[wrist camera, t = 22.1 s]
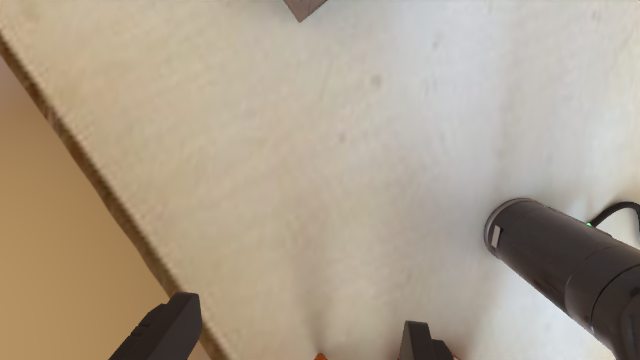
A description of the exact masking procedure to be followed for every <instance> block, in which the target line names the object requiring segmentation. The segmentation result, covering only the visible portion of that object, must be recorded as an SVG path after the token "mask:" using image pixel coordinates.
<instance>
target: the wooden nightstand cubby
mask: <svg viewBox="0 0 640 360" xmlns="http://www.w3.org/2000/svg"><path fill="white" fill-rule="evenodd" d="M326 1H327V0H284V2H285V3H286V4H287V6H288V7H289V9H290V10H291V12H292V13H293V14H294V16H295V17H296V19H297V20H298V22H299V23H300V22H302V21H303V20H304V19H305V18H307V17H308V16H309V15H310V14H311V13H313V12H314V11H315V10H316V9H318V8H319V7H320V6H321V5H322V4H324V3H325V2H326Z"/></svg>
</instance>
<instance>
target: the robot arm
mask: <svg viewBox="0 0 640 360" xmlns="http://www.w3.org/2000/svg"><path fill="white" fill-rule="evenodd" d="M623 208H633V209H634V210H636V212H637V215H638V219H639V230H640V205H639V204H637V203H634V202H621V203H618V204H615V205H613V206H611V207H609V208H608V209H606V210H605V211H603V212H602V213H601V214H600V215H599V216H597V217H596V218H595V219H594V220H593V221H592V222H590V223H589V224H586V223H584V222H582V221H579V220H577V219H575V218H573V217H571V216H568V215H566V214H564V213H562V212H560V211H557V210H555V209H553V208H551V207H545V206H543V205H542V204H540V203H538V202H536V201H534V200H531V199H525V198H520V199H514V200H511V201H508V202H506V203H504V204H502V205H501V206H500V207H498V208H497V209H496V210H495V211H494V212H493V213H492V214H491V216H490V217H489V219H488V221H487V223H486V226H485V230H484V240H485V244H486V246H487V248H488V250H489V251H490V252H491V253H492V254H493V255H494V256H496V257H497V258H498V259H500V260H501V261H503V262H504V263H505V264H506V265H508V266H509V267H510V268H511V269H512V270H513V271H515V272H516V273H517V274H518V275H519V276H521V277H522V278H523V279H524V280H526V281H527V282H528V283H529V284H530V285H532V286H533V287H534V288H535V289H537V290H538V291H539V292H540V293H541V294H543V295H544V296H545V297H546V298H547V299H549V300H550V301H551V302H552V303H554V304H555V305H556V306H557V307H558V308H560V309H561V310H562V311H563V312H565V313H566V314H567V315H568V316H569V317H571V318H572V319H573V320H574V321H576V322H577V323H578V324H579V325H581V326H582V327H583V328H584V329H585V330H587V331H588V332H589V333H590V334H591V335H593V336H594V337H595V338H596V339H598V340H599V341H600V342H601V343H602V344H603V345H605V346H606V347H607V348H608V349H609V350H610V351H611V352H612V353H613V355H614V356H615V358H616V360H640V250H639V249H636V248H634V247H632V246H630V245H627V244H625V243H623V242H621V241H619V240H617V239H614V238H612V236H611V235H610V234H608V233H606V232H604V231H601V230H599V229H597V228H595V227H596V226H597V225H599V224H600V223H601V222H602V221H603V220H604V219H606V218H607V217H608V216H609V215H611V214H612V213H614V212H616V211H618V210H620V209H623ZM201 331H202V317H201V308H200V300H199V295H198V294H196V293H188V292H180V291H178V292H176V293H175V294H174V295H173V297H172V298H171V299H170V300H169V302H168V303H167V304H160V305H159V306H157V307H156V308H154V309H153V310H151V311H150V312H148V314H147V315H146V316H145V317H144V318H143V319H142V321H141V322H140V323H139V325H138V326H137V327H136V328H135V329H134V330H133V331H132V332H131V335H130V336H128V337H127V338H126V339H125V341H124V342H123V343H122V344H121V345H120V347H119V348H118V349H117V350H116V351H115V352H114V354H113V355H112V356H111V357H110V358H109V360H187V358H188V357H189V355H190V353H191V352H192V350H193V348H194V347H195V345H196V343H197V341H198V340H199V337H200V334H201ZM400 360H454V358H453V355H452V353H451V352H450V350H449V349H448V348H447V346H446V345H445V344H444V342H443V341H442V340H434V339H431V335H430V331H429V327H428V324H427V323H424V322H416V321H408V320H406V321H405V325H404V331H403V337H402V343H401V349H400Z"/></svg>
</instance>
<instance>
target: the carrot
mask: <svg viewBox="0 0 640 360" xmlns="http://www.w3.org/2000/svg"><path fill="white" fill-rule="evenodd" d="M315 360H328V359H327V358H326V357H325V356H324V355H322V354H318V355H317V356H316V358H315Z"/></svg>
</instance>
